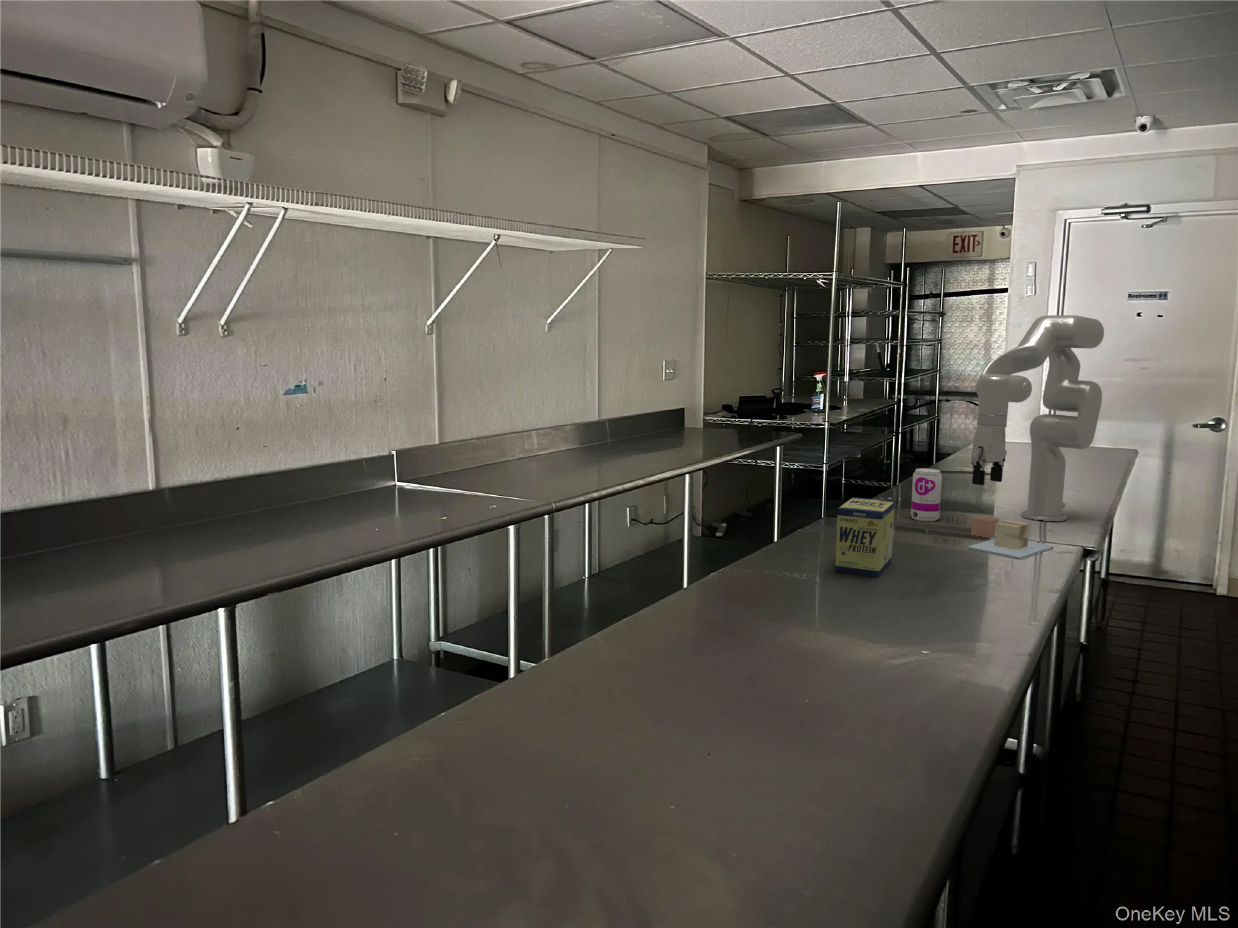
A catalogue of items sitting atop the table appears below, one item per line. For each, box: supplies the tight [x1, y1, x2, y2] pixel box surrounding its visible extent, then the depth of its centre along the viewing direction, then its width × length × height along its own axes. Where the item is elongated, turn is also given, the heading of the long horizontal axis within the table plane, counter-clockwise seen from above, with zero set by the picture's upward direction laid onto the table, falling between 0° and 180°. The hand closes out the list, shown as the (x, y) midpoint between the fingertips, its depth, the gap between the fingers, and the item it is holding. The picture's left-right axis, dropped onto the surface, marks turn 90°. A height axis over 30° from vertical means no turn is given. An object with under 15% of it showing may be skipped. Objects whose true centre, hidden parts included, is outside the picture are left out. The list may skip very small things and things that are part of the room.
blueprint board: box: [967, 538, 1054, 560], centre depth 232 cm, size 18×14×1 cm
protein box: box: [834, 497, 896, 578], centre depth 213 cm, size 10×16×16 cm
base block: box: [993, 519, 1030, 550], centre depth 232 cm, size 6×6×6 cm
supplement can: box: [910, 467, 943, 522], centre depth 267 cm, size 8×8×15 cm
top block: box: [970, 515, 999, 539], centre depth 247 cm, size 5×5×5 cm
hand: (987, 482), depth 245 cm, fingers open, 9 cm apart
